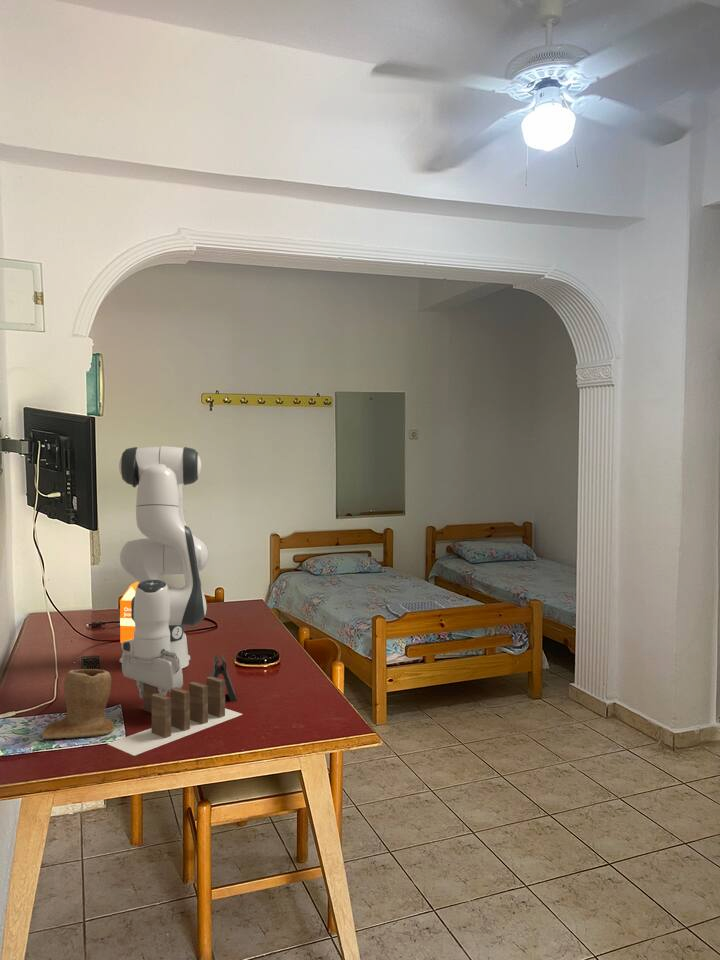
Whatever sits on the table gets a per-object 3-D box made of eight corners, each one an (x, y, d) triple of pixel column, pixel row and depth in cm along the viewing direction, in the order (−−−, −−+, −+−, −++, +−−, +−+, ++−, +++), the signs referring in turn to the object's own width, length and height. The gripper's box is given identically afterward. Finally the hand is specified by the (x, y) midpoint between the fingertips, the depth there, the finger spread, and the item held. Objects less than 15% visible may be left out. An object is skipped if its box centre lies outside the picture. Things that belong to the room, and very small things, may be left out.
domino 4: (202, 724, 182) (202, 687, 182) (189, 719, 185) (189, 683, 185) (207, 722, 184) (207, 685, 183) (194, 717, 187) (194, 681, 186)
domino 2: (165, 738, 174) (165, 699, 173) (151, 732, 177) (151, 694, 176) (170, 736, 175) (170, 697, 174) (157, 730, 178) (157, 693, 178)
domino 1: (155, 718, 189) (155, 682, 188) (143, 713, 192) (143, 678, 191) (161, 716, 190) (160, 681, 189) (148, 711, 193) (148, 677, 192)
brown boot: (116, 722, 186) (116, 661, 185) (112, 741, 174) (112, 676, 174) (50, 726, 182) (49, 665, 182) (41, 746, 171) (41, 680, 170)
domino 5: (220, 717, 187) (220, 681, 186) (206, 713, 190) (206, 677, 189) (225, 716, 188) (225, 680, 188) (211, 711, 191) (211, 676, 191)
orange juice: (151, 637, 264) (151, 580, 263) (142, 644, 256) (142, 585, 254) (130, 636, 265) (129, 579, 264) (119, 643, 256) (119, 584, 255)
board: (106, 748, 170) (106, 743, 170) (215, 708, 196) (215, 705, 196) (134, 760, 164) (134, 755, 164) (243, 718, 189) (243, 714, 189)
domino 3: (184, 731, 178) (184, 693, 178) (170, 726, 181) (170, 688, 181) (189, 729, 179) (189, 691, 179) (176, 724, 182) (176, 687, 182)
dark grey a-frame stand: (236, 697, 205) (236, 653, 204) (237, 705, 199) (238, 659, 198) (201, 699, 202) (202, 655, 202) (202, 707, 197) (202, 661, 196)
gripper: (189, 651, 186) (189, 706, 187) (138, 637, 198) (138, 689, 199) (168, 657, 181) (168, 714, 182) (117, 641, 193) (117, 695, 194)
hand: (152, 700), depth 191 cm, fingers closed on domino 1, 5 cm apart
